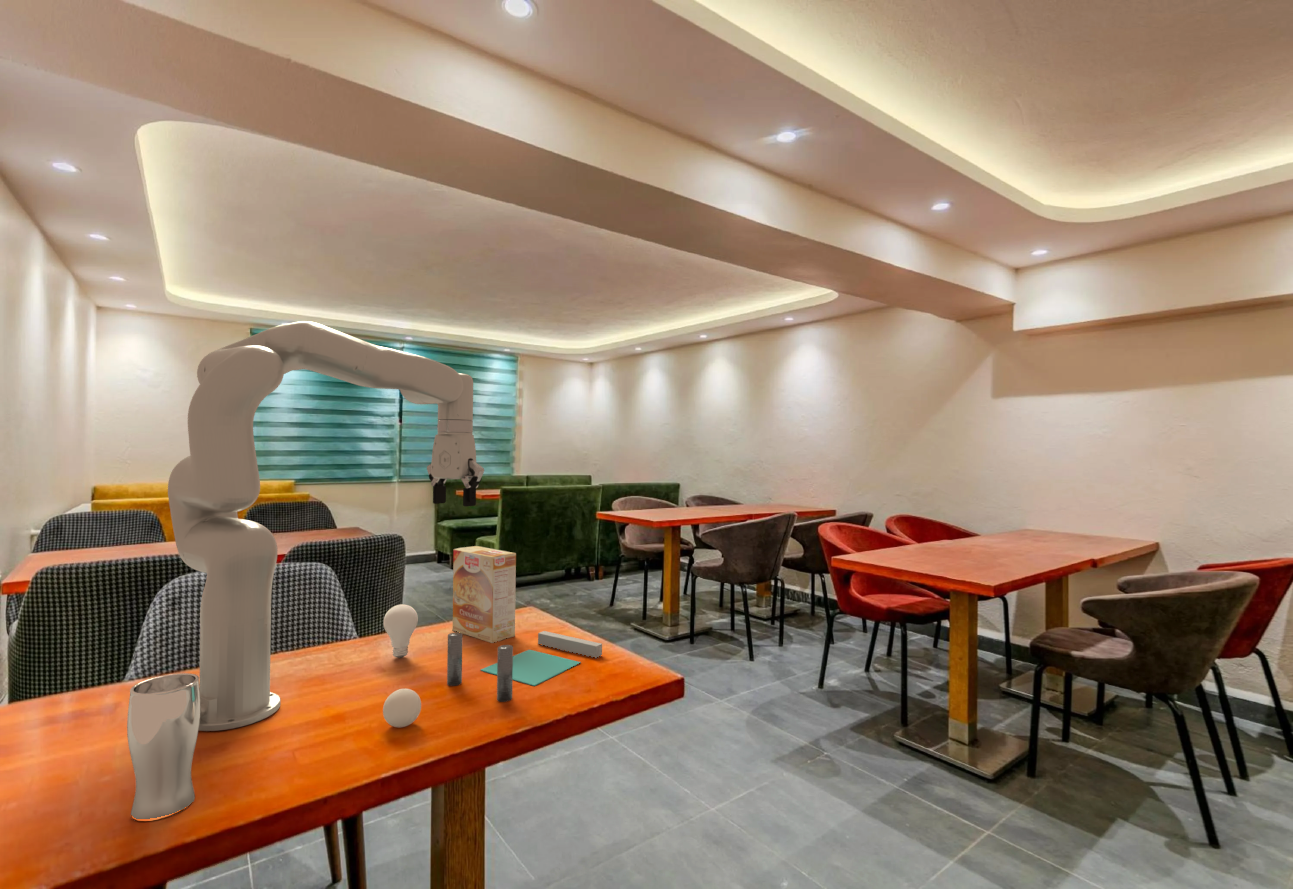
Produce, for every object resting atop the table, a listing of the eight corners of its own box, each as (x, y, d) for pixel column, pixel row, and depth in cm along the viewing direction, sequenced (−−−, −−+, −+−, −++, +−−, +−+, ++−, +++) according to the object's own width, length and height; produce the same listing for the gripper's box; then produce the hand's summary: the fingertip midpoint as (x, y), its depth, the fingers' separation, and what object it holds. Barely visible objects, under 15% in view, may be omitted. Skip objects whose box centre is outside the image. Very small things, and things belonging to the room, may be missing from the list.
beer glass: (149, 830, 69) (150, 699, 69) (112, 816, 71) (113, 689, 71) (212, 797, 75) (214, 677, 75) (176, 785, 78) (178, 669, 78)
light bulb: (382, 655, 126) (383, 602, 126) (416, 650, 129) (416, 599, 129) (383, 665, 120) (383, 610, 120) (418, 661, 123) (419, 607, 123)
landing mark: (534, 686, 111) (534, 685, 111) (480, 670, 118) (480, 669, 118) (580, 663, 123) (580, 662, 123) (529, 650, 130) (529, 649, 130)
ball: (398, 737, 91) (398, 700, 91) (374, 728, 94) (375, 692, 94) (428, 723, 96) (429, 687, 96) (405, 714, 99) (406, 680, 99)
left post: (453, 687, 110) (454, 637, 110) (444, 684, 111) (444, 635, 111) (464, 682, 112) (465, 634, 112) (455, 679, 114) (455, 631, 114)
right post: (504, 703, 103) (505, 650, 103) (493, 699, 105) (494, 648, 105) (515, 697, 106) (516, 646, 106) (504, 694, 107) (505, 643, 107)
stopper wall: (596, 658, 126) (596, 646, 126) (538, 644, 134) (538, 633, 134) (601, 655, 127) (602, 643, 127) (543, 642, 136) (544, 630, 136)
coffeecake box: (451, 630, 143) (452, 548, 143) (475, 624, 149) (476, 545, 149) (491, 644, 134) (492, 556, 134) (516, 636, 140) (517, 552, 140)
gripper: (415, 428, 137) (414, 503, 137) (469, 427, 128) (468, 508, 128) (442, 429, 143) (441, 501, 143) (495, 429, 134) (494, 505, 134)
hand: (454, 504), depth 135 cm, fingers open, 9 cm apart
